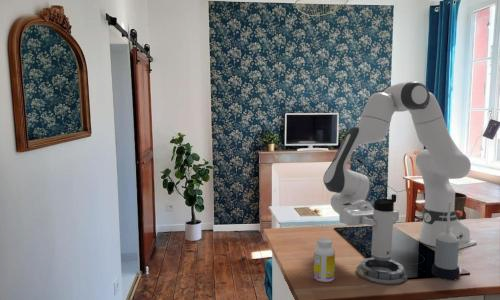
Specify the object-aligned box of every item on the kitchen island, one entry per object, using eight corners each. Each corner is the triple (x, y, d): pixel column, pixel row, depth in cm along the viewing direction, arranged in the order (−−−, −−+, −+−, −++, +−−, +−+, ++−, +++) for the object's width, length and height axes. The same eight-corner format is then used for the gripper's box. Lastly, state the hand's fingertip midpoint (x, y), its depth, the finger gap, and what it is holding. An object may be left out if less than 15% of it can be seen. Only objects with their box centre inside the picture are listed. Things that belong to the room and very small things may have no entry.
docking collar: (386, 262, 135) (386, 254, 135) (418, 280, 120) (418, 271, 119) (347, 267, 130) (347, 259, 130) (376, 287, 115) (376, 278, 115)
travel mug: (393, 262, 121) (396, 202, 118) (372, 260, 122) (375, 201, 120) (390, 254, 127) (393, 197, 125) (370, 252, 128) (373, 196, 126)
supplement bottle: (335, 275, 124) (336, 238, 123) (333, 284, 118) (334, 244, 116) (315, 272, 126) (316, 236, 125) (312, 281, 120) (312, 242, 118)
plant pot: (430, 230, 172) (431, 196, 170) (428, 221, 185) (429, 190, 184) (467, 234, 166) (469, 199, 164) (462, 224, 180) (464, 192, 178)
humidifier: (463, 281, 120) (467, 205, 117) (436, 279, 121) (439, 204, 118) (454, 270, 128) (458, 199, 125) (428, 268, 129) (432, 198, 126)
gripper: (384, 217, 139) (410, 228, 126) (335, 222, 133) (358, 234, 120) (384, 201, 138) (411, 210, 125) (336, 205, 132) (358, 215, 119)
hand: (384, 222), depth 122 cm, fingers closed on travel mug, 6 cm apart
